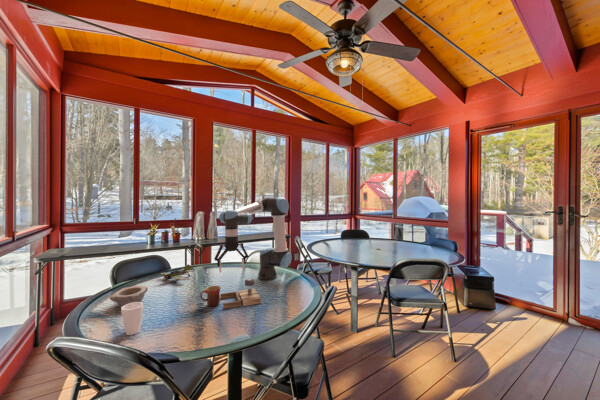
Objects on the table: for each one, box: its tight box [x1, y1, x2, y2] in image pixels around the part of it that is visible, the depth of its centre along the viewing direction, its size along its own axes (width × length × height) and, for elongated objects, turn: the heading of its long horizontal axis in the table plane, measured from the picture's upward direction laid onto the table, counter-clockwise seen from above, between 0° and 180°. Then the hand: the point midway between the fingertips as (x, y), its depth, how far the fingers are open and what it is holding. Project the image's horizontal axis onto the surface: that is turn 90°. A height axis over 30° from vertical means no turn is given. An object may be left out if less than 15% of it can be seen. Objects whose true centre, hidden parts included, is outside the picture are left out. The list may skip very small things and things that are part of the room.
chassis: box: [220, 288, 262, 310], centre depth 170 cm, size 18×22×6 cm
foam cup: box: [120, 301, 144, 336], centre depth 134 cm, size 10×9×13 cm
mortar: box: [109, 285, 149, 308], centre depth 165 cm, size 17×17×9 cm
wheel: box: [244, 278, 255, 287], centre depth 173 cm, size 6×6×3 cm
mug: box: [199, 285, 221, 308], centre depth 164 cm, size 12×9×10 cm
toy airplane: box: [160, 264, 194, 284], centre depth 213 cm, size 31×25×10 cm
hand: (231, 270), depth 164 cm, fingers open, 13 cm apart
